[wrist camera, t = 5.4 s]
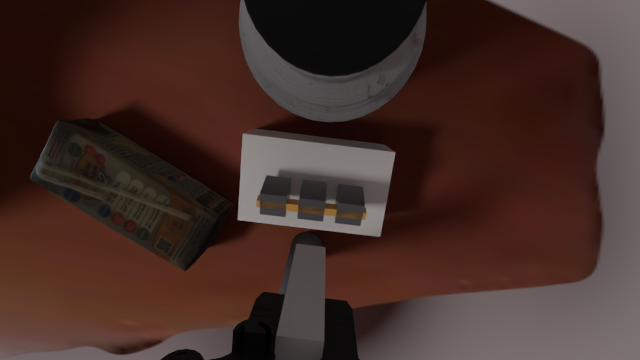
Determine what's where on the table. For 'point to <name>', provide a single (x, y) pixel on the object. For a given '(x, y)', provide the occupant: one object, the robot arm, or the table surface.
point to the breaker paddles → (312, 201)
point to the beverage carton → (131, 190)
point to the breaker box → (315, 175)
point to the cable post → (301, 238)
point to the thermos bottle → (332, 52)
